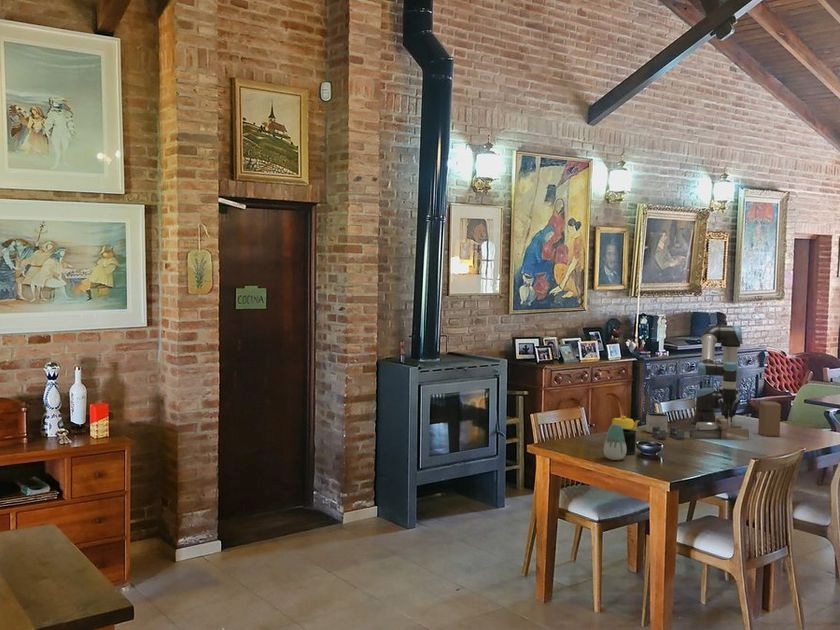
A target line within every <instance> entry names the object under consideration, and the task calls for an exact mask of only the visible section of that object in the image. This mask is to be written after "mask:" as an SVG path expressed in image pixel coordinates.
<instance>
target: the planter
mask: <svg viewBox="0 0 840 630" xmlns="http://www.w3.org/2000/svg"><path fill="white" fill-rule="evenodd" d="M645 421H646V422H645V432H647V433H648V432H649V433H648V434H652V427H660V430H666V434H667V433H668V421H669V420H668V414H667V413H661V412H648V413H646V418H645Z"/></svg>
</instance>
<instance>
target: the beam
mask: <svg viewBox="0 0 840 630" xmlns="http://www.w3.org/2000/svg"><path fill="white" fill-rule="evenodd" d="M727 421H728V419H725V417H723V416H715V422H722V424H721V431H697V429H689V435H688V437H690V439H692V438H693V439H694V440H695V439H696V440H699V439H700V440H703V439H704V440H713V439H714V440H718V439H719V440H722V441H725V440H727V441H729V440H730V441H732V440H734V441H747V440H750V437H749V436H750V431H749V428H742V426H741V425H730V428H727Z"/></svg>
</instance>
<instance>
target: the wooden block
mask: <svg viewBox="0 0 840 630" xmlns="http://www.w3.org/2000/svg"><path fill="white" fill-rule="evenodd" d="M781 409H782V405H781V404H780V403H778V402H776V401H767V400H766V401H763V400H761V401H759V406H758V431H757V432H758V434H759V435H761V436H763V437H775V438H776V437H780V433H781V411H782V410H781Z"/></svg>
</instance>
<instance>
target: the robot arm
mask: <svg viewBox="0 0 840 630" xmlns="http://www.w3.org/2000/svg"><path fill="white" fill-rule="evenodd" d="M700 342H701V344H702V345H701V358H700V359H701V362H698V363H697V374H698V375H701V376H716V377H717V376H718V377H721V386H719V388H718V390H716V388H715V387H703V388H698V389H697V390H696V393H695V411H694V413H693V417H692V419H691V420H692V421H691V422H692V424H693V423H694V424H693V425H696V423H697V422H715V417H716V414H715V409H717V410H718V409H719V410H720V412H721V416H722V417H724V418H725V419H728V421H727V423H728V424H729V428H730V426H731V423H732V422H733V418H734V417H736V414H737V410H738V408H739V405H740V402H741V392H740V391H739V389H738V387H737V376H738V375H737V374H738V350H739V349H740V348H741V345H743V331H742V327H741V326H740V325H726V324H725V325H722V324H720V325H719V324H714V325H711V326H709V327H707V328H705V330H704V331H703V332H702V333H701V336H700ZM716 344H720V347H721V348H722V363H719V362H715V355H716V354H715V351H716Z"/></svg>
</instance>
